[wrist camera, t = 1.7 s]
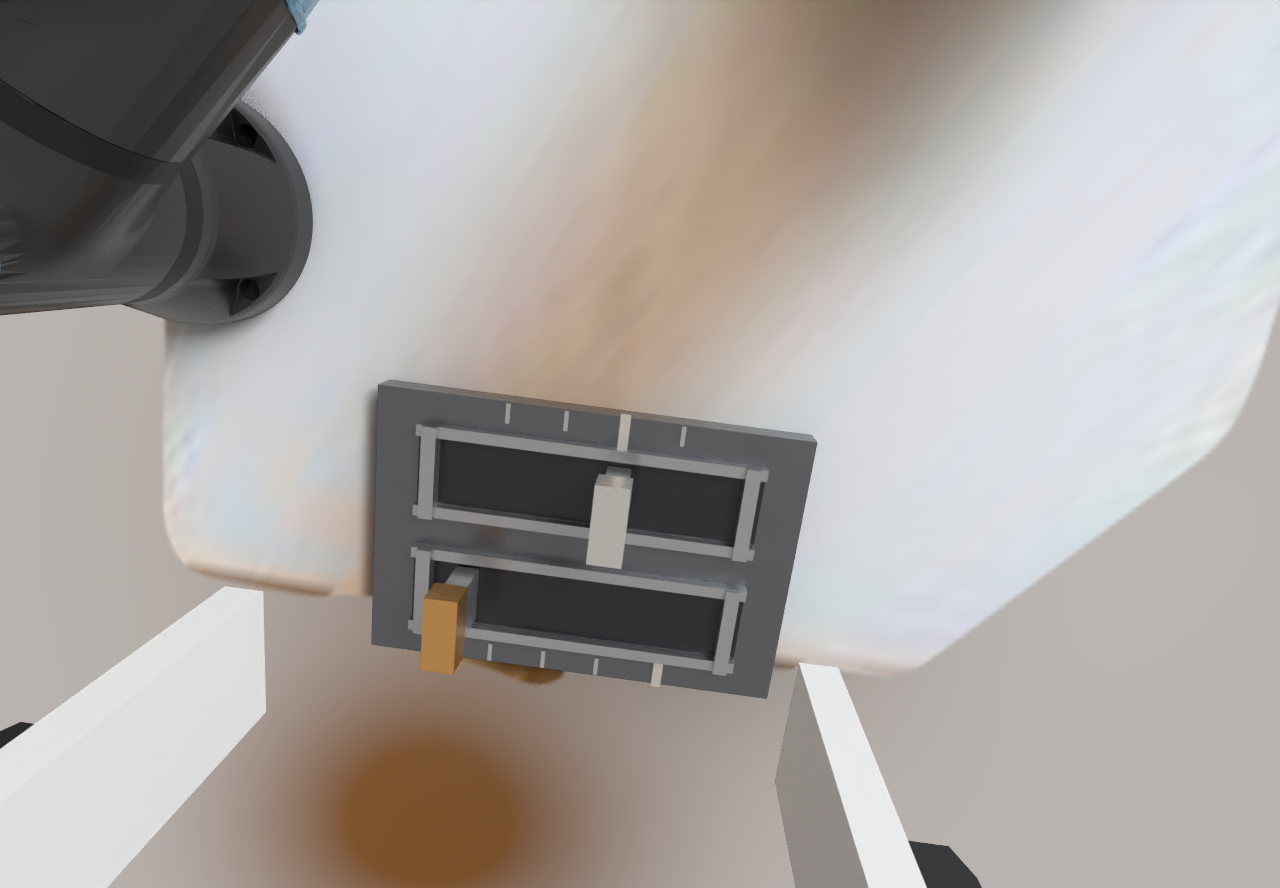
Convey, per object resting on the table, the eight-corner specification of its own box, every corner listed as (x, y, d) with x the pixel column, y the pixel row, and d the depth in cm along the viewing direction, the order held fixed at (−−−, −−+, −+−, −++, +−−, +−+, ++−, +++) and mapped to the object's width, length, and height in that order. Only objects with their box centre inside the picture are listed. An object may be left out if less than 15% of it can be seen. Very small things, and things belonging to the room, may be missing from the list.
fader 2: (596, 527, 49) (585, 564, 43) (604, 456, 47) (594, 484, 41) (627, 531, 49) (621, 569, 43) (636, 460, 47) (631, 489, 41)
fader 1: (449, 622, 51) (420, 669, 45) (453, 557, 50) (423, 598, 44) (479, 626, 51) (453, 674, 45) (483, 561, 50) (457, 602, 44)
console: (382, 633, 54) (364, 655, 51) (389, 376, 49) (370, 384, 46) (763, 685, 54) (768, 711, 51) (812, 432, 48) (821, 444, 45)
